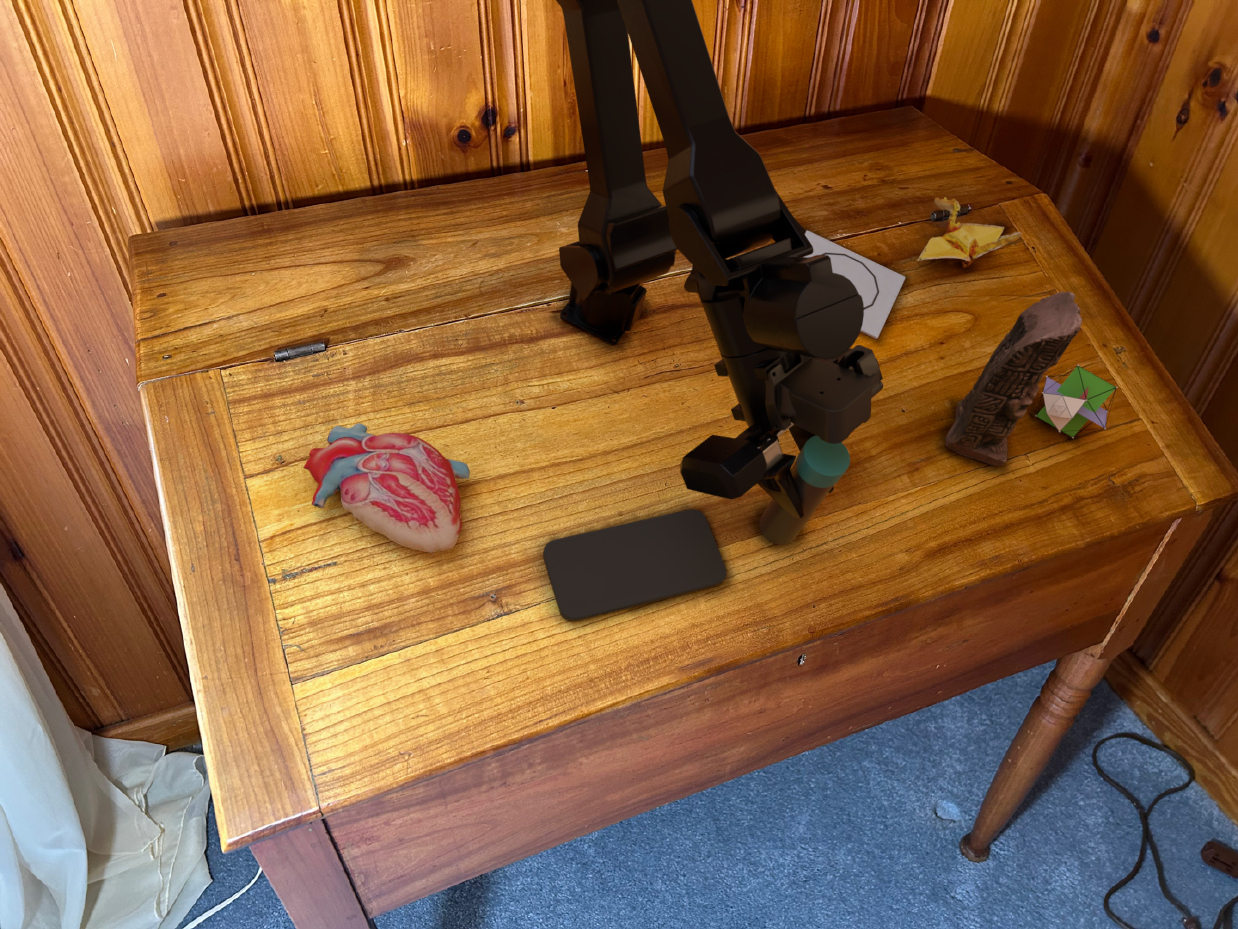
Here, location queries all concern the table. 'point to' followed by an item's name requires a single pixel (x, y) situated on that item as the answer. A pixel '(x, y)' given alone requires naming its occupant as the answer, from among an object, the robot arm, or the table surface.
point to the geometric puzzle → (1075, 401)
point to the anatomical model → (392, 485)
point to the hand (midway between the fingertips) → (813, 504)
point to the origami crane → (964, 238)
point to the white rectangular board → (862, 281)
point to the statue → (1013, 378)
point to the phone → (633, 564)
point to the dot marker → (806, 488)
